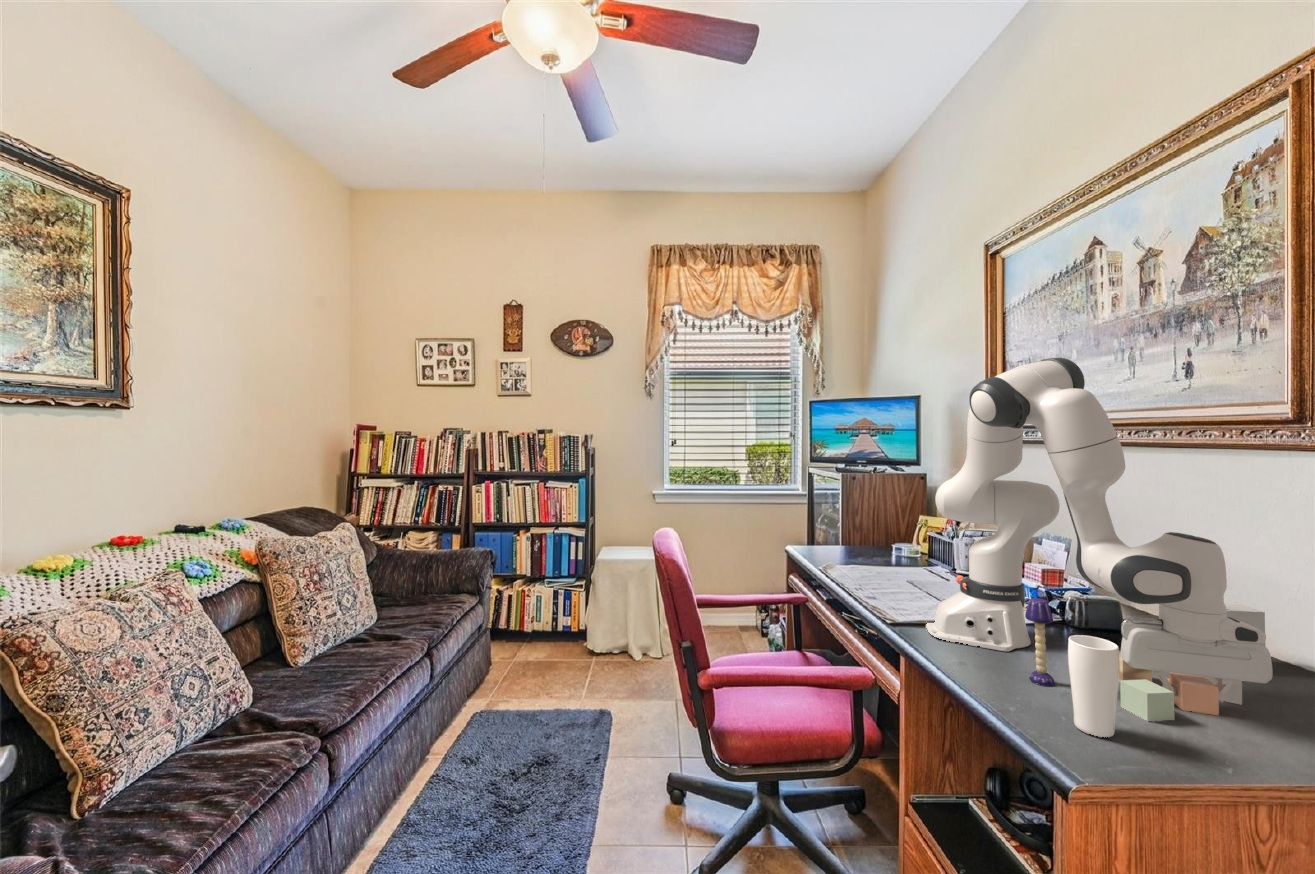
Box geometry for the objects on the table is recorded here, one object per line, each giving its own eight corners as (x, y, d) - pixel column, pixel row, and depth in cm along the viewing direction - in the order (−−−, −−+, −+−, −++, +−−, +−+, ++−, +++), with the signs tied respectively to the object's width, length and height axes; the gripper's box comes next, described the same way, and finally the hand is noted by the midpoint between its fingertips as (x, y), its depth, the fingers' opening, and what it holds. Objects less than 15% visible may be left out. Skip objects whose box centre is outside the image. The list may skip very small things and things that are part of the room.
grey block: (1203, 697, 101) (1203, 671, 101) (1197, 687, 105) (1197, 662, 105) (1242, 705, 98) (1242, 678, 98) (1234, 694, 102) (1234, 668, 102)
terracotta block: (1182, 710, 96) (1182, 682, 96) (1167, 697, 100) (1167, 671, 100) (1218, 715, 94) (1218, 687, 94) (1202, 702, 99) (1201, 675, 99)
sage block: (1147, 722, 92) (1147, 693, 92) (1120, 707, 97) (1120, 680, 97) (1174, 721, 92) (1174, 692, 92) (1146, 706, 97) (1145, 679, 97)
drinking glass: (1058, 721, 93) (1057, 635, 93) (1094, 718, 93) (1093, 633, 93) (1093, 743, 86) (1092, 651, 86) (1131, 740, 86) (1130, 649, 86)
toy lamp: (1046, 689, 104) (1045, 604, 104) (1020, 679, 108) (1020, 598, 108) (1059, 683, 106) (1058, 601, 106) (1033, 674, 111) (1033, 594, 111)
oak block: (1122, 685, 106) (1122, 660, 106) (1107, 674, 111) (1106, 650, 111) (1152, 687, 105) (1151, 662, 105) (1134, 676, 110) (1134, 652, 110)
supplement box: (1267, 672, 110) (1267, 612, 110) (1225, 670, 112) (1224, 610, 112) (1236, 658, 118) (1236, 601, 118) (1197, 655, 119) (1196, 599, 119)
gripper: (1128, 621, 98) (1129, 695, 98) (1278, 635, 90) (1279, 716, 90) (1113, 610, 104) (1114, 681, 104) (1253, 623, 96) (1254, 699, 96)
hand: (1192, 697), depth 97 cm, fingers closed on terracotta block, 5 cm apart
